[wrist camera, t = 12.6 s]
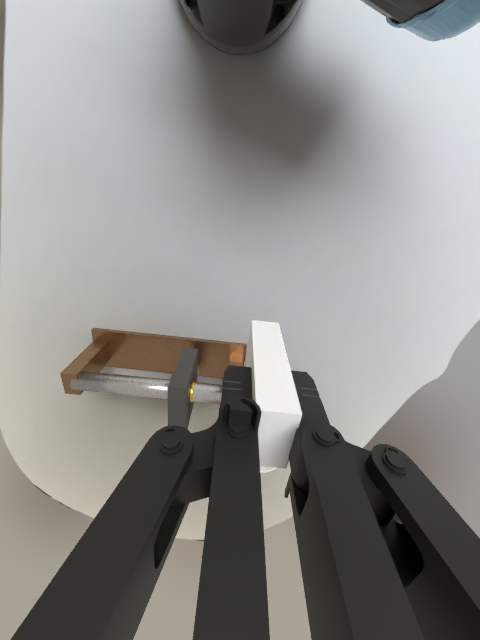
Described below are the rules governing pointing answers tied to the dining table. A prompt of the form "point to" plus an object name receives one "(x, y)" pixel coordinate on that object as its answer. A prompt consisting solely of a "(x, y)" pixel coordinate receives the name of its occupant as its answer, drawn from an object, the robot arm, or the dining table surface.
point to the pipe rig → (148, 364)
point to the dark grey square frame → (182, 388)
